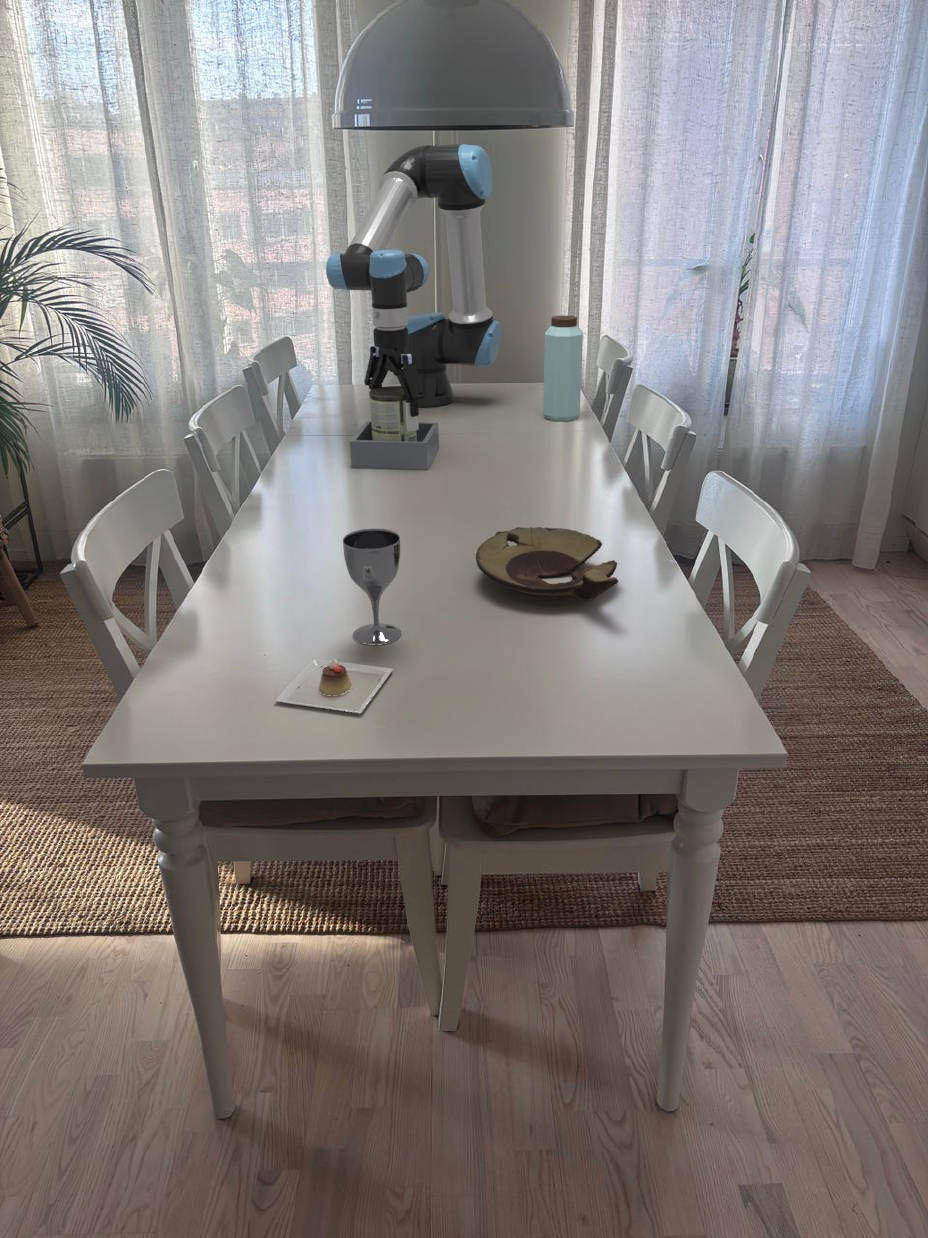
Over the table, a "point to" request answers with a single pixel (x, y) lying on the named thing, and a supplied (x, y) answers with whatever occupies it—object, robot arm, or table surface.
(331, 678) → the dessert
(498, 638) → the table surface
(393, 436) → the coffee can
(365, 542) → the wine glass
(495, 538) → the brown shallow dish
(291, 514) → the table surface
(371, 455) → the bin
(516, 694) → the table surface
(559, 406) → the water bottle
